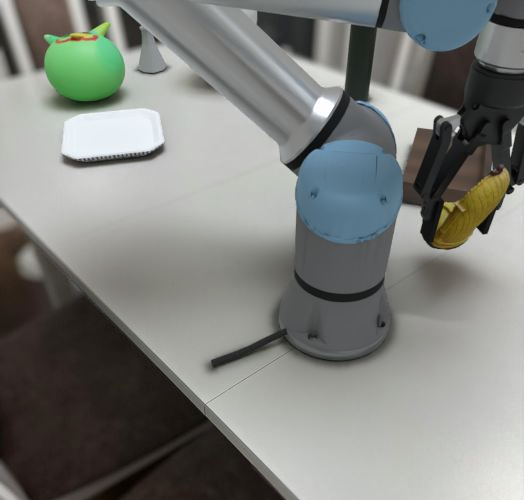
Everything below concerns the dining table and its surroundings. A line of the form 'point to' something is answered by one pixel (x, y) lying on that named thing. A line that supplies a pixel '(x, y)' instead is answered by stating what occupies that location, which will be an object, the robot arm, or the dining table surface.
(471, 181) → the brown boxy piece
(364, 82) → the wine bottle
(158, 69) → the flask
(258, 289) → the dining table surface
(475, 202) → the yellow curved piece
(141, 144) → the plate
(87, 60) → the toy bird
